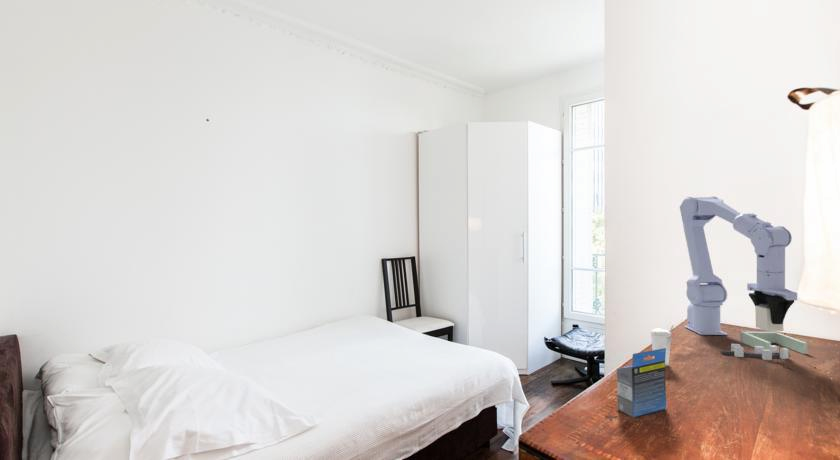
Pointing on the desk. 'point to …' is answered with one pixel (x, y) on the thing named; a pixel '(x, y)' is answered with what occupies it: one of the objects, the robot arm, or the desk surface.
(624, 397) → the label tape cartridge
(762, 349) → the clips
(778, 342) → the holder
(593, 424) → the desk surface
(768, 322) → the block
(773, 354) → the cable
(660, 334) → the milkshake
